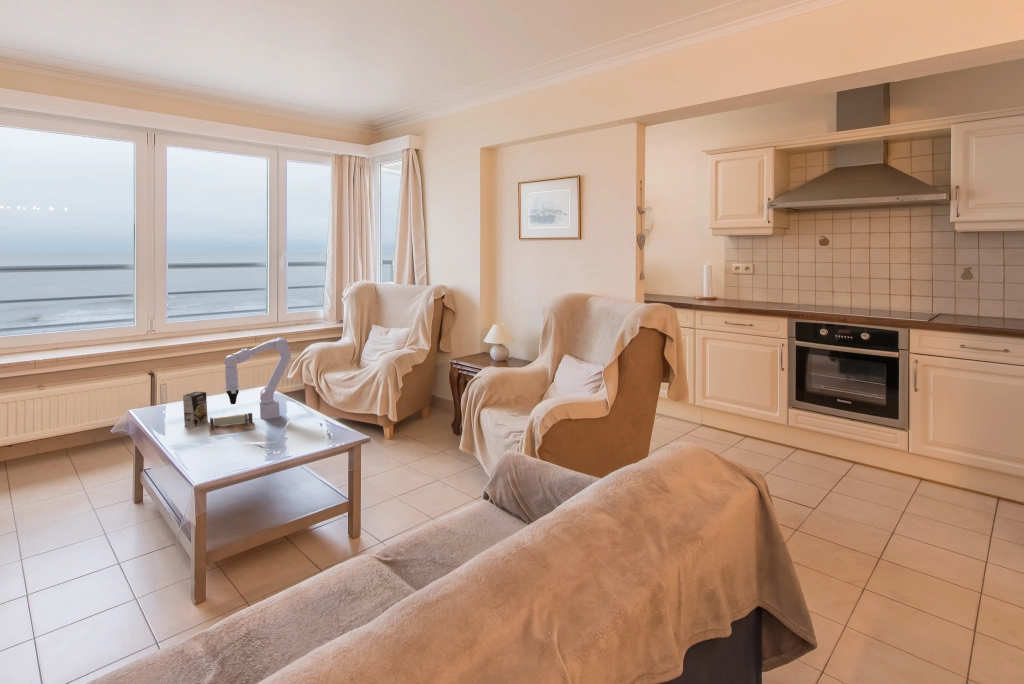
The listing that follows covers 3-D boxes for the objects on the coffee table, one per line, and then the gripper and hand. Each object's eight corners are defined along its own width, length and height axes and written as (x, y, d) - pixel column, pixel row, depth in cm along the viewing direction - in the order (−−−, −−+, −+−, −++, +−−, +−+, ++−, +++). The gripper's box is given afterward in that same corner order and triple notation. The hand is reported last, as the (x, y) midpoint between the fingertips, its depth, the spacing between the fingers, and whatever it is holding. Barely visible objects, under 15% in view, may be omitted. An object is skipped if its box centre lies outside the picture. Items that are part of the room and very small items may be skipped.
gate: (247, 421, 288) (247, 413, 287) (248, 422, 286) (247, 414, 286) (214, 425, 280) (213, 417, 279) (214, 426, 279) (213, 418, 278)
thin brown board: (250, 419, 295) (250, 409, 294) (256, 431, 277) (255, 420, 276) (208, 424, 285) (207, 413, 284) (210, 437, 266) (209, 426, 265)
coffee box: (195, 427, 280) (193, 396, 277) (184, 426, 281) (182, 395, 278) (208, 422, 289) (206, 391, 286) (197, 421, 290) (195, 390, 287)
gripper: (222, 376, 291) (223, 401, 293) (224, 382, 279) (225, 408, 281) (237, 375, 295) (238, 399, 297) (239, 380, 283) (241, 406, 285)
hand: (233, 403), depth 289 cm, fingers closed
